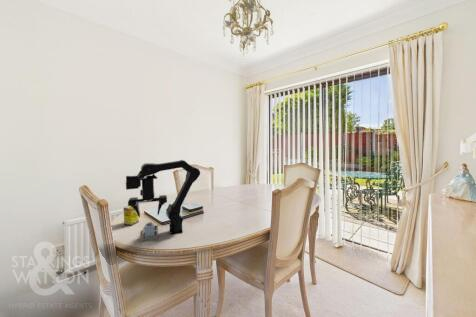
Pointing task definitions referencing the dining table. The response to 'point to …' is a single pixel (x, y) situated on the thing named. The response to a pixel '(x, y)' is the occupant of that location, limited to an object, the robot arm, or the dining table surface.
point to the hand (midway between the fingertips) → (148, 215)
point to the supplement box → (130, 216)
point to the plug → (149, 230)
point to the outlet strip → (149, 237)
